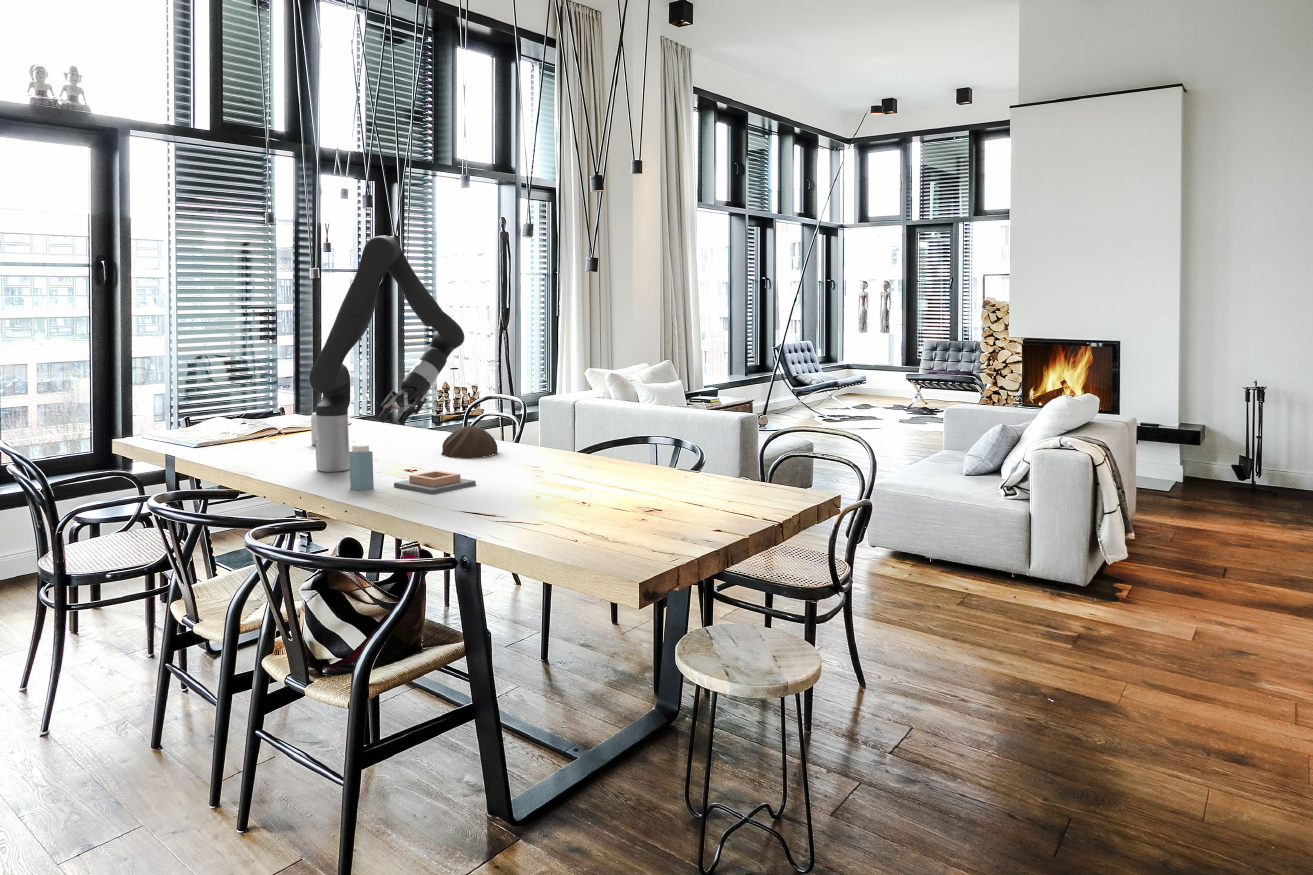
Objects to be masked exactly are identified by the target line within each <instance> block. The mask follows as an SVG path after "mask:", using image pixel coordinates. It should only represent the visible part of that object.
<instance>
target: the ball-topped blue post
mask: <svg viewBox="0 0 1313 875" xmlns="http://www.w3.org/2000/svg"><path fill="white" fill-rule="evenodd" d="M351 448H352V450H351V451H349V464H350V469H349V486H350V490H355V491H358V492H359V491H360V492H363V491H368V490H372V489H375V487H374V485H375V484H374V462H373V461H374V458H373V451H372V450H370V445H367V444H358V445H352V446H351Z"/></svg>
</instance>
